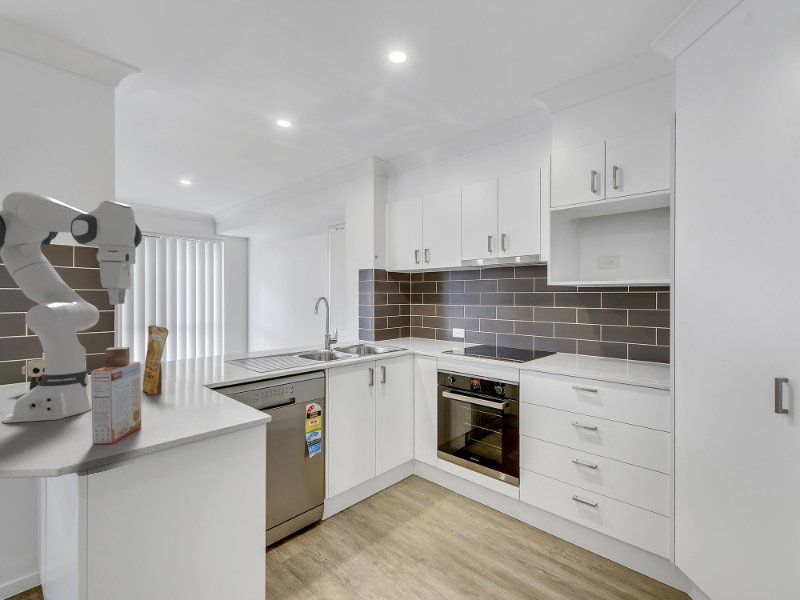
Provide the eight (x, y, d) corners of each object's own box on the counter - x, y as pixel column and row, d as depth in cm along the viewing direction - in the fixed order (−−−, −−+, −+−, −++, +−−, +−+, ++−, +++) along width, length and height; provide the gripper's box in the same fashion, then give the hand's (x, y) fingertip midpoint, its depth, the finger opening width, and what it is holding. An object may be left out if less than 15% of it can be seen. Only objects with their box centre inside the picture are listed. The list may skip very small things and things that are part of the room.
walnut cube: (105, 367, 111) (105, 349, 111) (109, 364, 115) (109, 347, 115) (126, 365, 113) (126, 348, 113) (129, 363, 118) (129, 346, 117)
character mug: (23, 394, 160) (23, 363, 159) (20, 392, 164) (19, 361, 164) (58, 389, 168) (58, 359, 168) (53, 387, 173) (53, 358, 172)
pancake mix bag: (156, 386, 176) (156, 324, 175) (169, 393, 163) (169, 327, 162) (139, 388, 171) (138, 325, 171) (151, 396, 158) (151, 328, 157)
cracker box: (122, 427, 121) (122, 361, 121) (142, 427, 122) (142, 361, 121) (89, 445, 107) (89, 369, 107) (112, 444, 108) (112, 369, 107)
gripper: (112, 259, 122) (112, 303, 122) (95, 253, 103) (95, 305, 103) (136, 260, 124) (136, 303, 125) (123, 254, 106) (123, 305, 106)
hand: (117, 304), depth 114 cm, fingers open, 8 cm apart
